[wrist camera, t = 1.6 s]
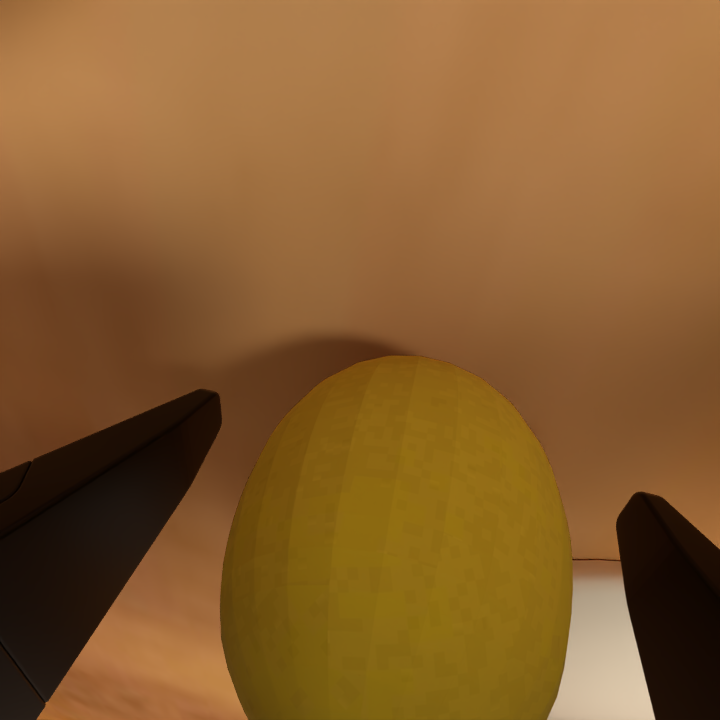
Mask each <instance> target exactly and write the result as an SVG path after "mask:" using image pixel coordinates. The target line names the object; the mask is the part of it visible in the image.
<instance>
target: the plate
mask: <svg viewBox="0 0 720 720" xmlns="http://www.w3.org/2000/svg"><path fill="white" fill-rule="evenodd" d="M572 562H573V596H572V614H571V622H570V630H569V638H568V645H567V652H566V659H565V666H564V671H563V675H562V679H561V683H560V687H559V691H558V695H557V698H556V700H555V703H554V705H553V707H552V709H551V712H550V714H549V716H548V718H547V720H655V717H654V713H653V709H652V705H651V700H650V696H649V692H648V688H647V684H646V680H645V676H644V672H643V668H642V664H641V660H640V656H639V652H638V648H637V644H636V640H635V636H634V632H633V628H632V624H631V620H630V616H629V611H628V607H627V602H626V596H625V590H624V582H623V575H622V568H621V561H605V560H572Z"/></svg>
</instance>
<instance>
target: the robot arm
mask: <svg viewBox="0 0 720 720" xmlns="http://www.w3.org/2000/svg"><path fill="white" fill-rule="evenodd" d="M221 424H222V415H221V404H220V396H219V394H218V393H217V392H215V391H210V390H206V389H199V390H196V391H194V392H191V393H189V394H186V395H184V396H182V397H179V398H177V399H175V400H172V401H170V402H167V403H165V404H163V405H160V406H158V407H156V408H153V409H151V410H149V411H146V412H144V413H141V414H139V415H137V416H134V417H132V418H130V419H127V420H125V421H123V422H120V423H118V424H115V425H113V426H111V427H108V428H106V429H104V430H101V431H99V432H97V433H94V434H92V435H89V436H87V437H85V438H82V439H80V440H78V441H75V442H73V443H71V444H68V445H66V446H63V447H61V448H59V449H56V450H54V451H52V452H49V453H47V454H44V455H42V456H40V457H37V458H35V459H34V460H33V461H32V462H31V461H28V462H25V463H23V464H21V465H18V466H16V467H14V468H11V469H9V470H6V471H4V472H1V473H0V720H36V719H37V718H38V716H39V715H40V713H41V712H42V710H43V709H44V707H45V705H46V704H45V703H46V702H48V701H49V699H50V698H51V696H52V695H53V693H54V692H55V690H56V689H57V687H58V686H59V684H60V683H61V681H62V679H63V678H64V676H65V675H66V673H67V672H68V670H69V669H70V667H71V666H72V664H73V663H74V661H75V660H76V658H77V657H78V655H79V654H80V652H81V651H82V649H83V648H84V646H85V645H86V643H87V642H88V640H89V639H90V637H91V636H92V634H93V633H94V631H95V630H96V628H97V627H98V625H99V624H100V622H101V621H102V619H103V618H104V616H105V615H106V613H107V612H108V610H109V609H110V607H111V606H112V604H113V603H114V601H115V600H116V598H117V596H118V595H119V593H120V592H121V590H122V589H123V587H124V586H125V584H126V583H127V581H128V580H129V578H130V577H131V575H132V574H133V572H134V571H135V569H136V568H137V566H138V565H139V563H140V562H141V560H142V559H143V557H144V556H145V554H146V553H147V551H148V550H149V548H150V547H151V545H152V544H153V542H154V541H155V539H156V538H157V536H158V535H159V533H160V532H161V530H162V529H163V527H164V526H165V524H166V523H167V521H168V520H169V518H170V517H171V515H172V514H173V512H174V510H175V509H176V507H177V506H178V504H179V503H180V501H181V500H182V498H183V497H184V495H185V494H186V492H187V491H188V489H189V487H190V486H191V484H192V482H193V480H194V478H195V477H196V475H197V473H198V471H199V469H200V467H201V465H202V463H203V461H204V459H205V457H206V455H207V453H208V451H209V449H210V448H211V446H212V444H213V442H214V440H215V438H216V436H217V434H218V432H219V430H220V427H221ZM616 530H617V538H618V545H619V553H620V560H621V568H622V575H623V582H624V590H625V596H626V602H627V607H628V611H629V616H630V620H631V624H632V628H633V632H634V636H635V640H636V644H637V648H638V652H639V656H640V660H641V664H642V668H643V672H644V676H645V680H646V684H647V688H648V692H649V696H650V700H651V705H652V709H653V713H654V717H655V720H720V549H719V548H717V547H716V546H715V545H714V544H713V543H712V542H711V541H710V540H709V539H708V538H706V537H705V536H704V535H703V534H702V533H701V532H700V531H699V530H698V529H697V528H695V527H694V526H693V525H692V524H691V523H690V522H689V521H688V520H687V519H686V518H685V517H683V516H682V515H681V514H680V513H679V512H678V511H677V510H676V509H675V508H674V507H672V506H671V505H670V504H669V503H668V502H667V501H666V500H665V499H664V498H662V497H660V496H658V495H654V494H650V493H645V492H637V493H635V494H634V495H633V496H632V497H631V499H630V500H629V502H628V503H627V504H626V506H625V507H624V509H623V510H622V512H621V513H620V514H619V516H618V518H617V522H616Z"/></svg>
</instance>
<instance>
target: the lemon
mask: <svg viewBox="0 0 720 720" xmlns="http://www.w3.org/2000/svg"><path fill="white" fill-rule="evenodd" d="M572 596H573V562H572V550H571V540H570V534H569V529H568V523H567V518H566V515H565V511H564V507H563V504H562V500H561V497H560V494H559V491H558V487H557V484H556V481H555V477H554V474H553V471H552V468H551V466H550V463H549V461H548V458H547V456H546V454H545V452H544V450H543V448H542V446H541V444H540V442H539V441H538V439H537V438H536V437H535V435H534V434H533V432H532V431H531V430H530V428H529V427H528V425H527V424H526V422H525V421H524V420H523V418H522V417H521V415H520V414H519V413H518V411H517V410H516V408H515V407H514V406H513V404H511V403H510V402H509V401H508V400H507V399H506V398H505V397H504V396H503V395H501V394H500V393H499V392H498V391H497V390H495V389H494V388H493V387H492V386H490V385H489V384H488V383H487V382H486V381H484V380H483V379H482V378H480V377H478V376H476V375H474V374H472V373H470V372H468V371H466V370H463V369H461V368H459V367H457V366H455V365H453V364H451V363H448V362H444V361H440V360H435V359H431V358H427V357H423V356H385V357H381V358H376V359H372V360H367V361H362V362H358V363H356V364H354V365H352V366H350V367H348V368H346V369H344V370H342V371H340V372H338V373H336V374H334V375H332V376H330V377H328V378H326V379H324V380H323V381H322V382H321V383H319V384H318V385H317V386H315V387H314V388H313V389H312V390H311V391H310V392H309V393H308V394H307V395H306V396H305V397H304V398H303V399H301V400H300V401H299V402H298V403H297V404H296V405H295V406H294V407H293V408H292V409H291V410H290V411H289V412H288V413H287V414H286V415H285V417H284V418H283V419H282V420H281V422H280V423H279V424H278V425H277V427H276V428H275V430H274V431H273V433H272V434H271V436H270V438H269V439H268V441H267V443H266V445H265V447H264V449H263V451H262V453H261V454H260V456H259V458H258V460H257V462H256V464H255V466H254V468H253V470H252V472H251V474H250V476H249V478H248V481H247V483H246V485H245V488H244V490H243V493H242V495H241V498H240V501H239V504H238V507H237V510H236V513H235V516H234V519H233V523H232V526H231V530H230V534H229V538H228V542H227V547H226V552H225V557H224V562H223V571H222V582H221V595H220V621H221V640H222V644H223V649H224V654H225V658H226V663H227V668H228V671H229V673H230V676H231V679H232V682H233V684H234V687H235V690H236V693H237V695H238V698H239V700H240V703H241V705H242V707H243V710H244V712H245V714H246V716H247V718H248V720H547V718H548V716H549V714H550V712H551V709H552V707H553V705H554V703H555V700H556V698H557V695H558V691H559V687H560V683H561V679H562V675H563V671H564V666H565V659H566V652H567V645H568V638H569V630H570V622H571V614H572Z"/></svg>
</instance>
